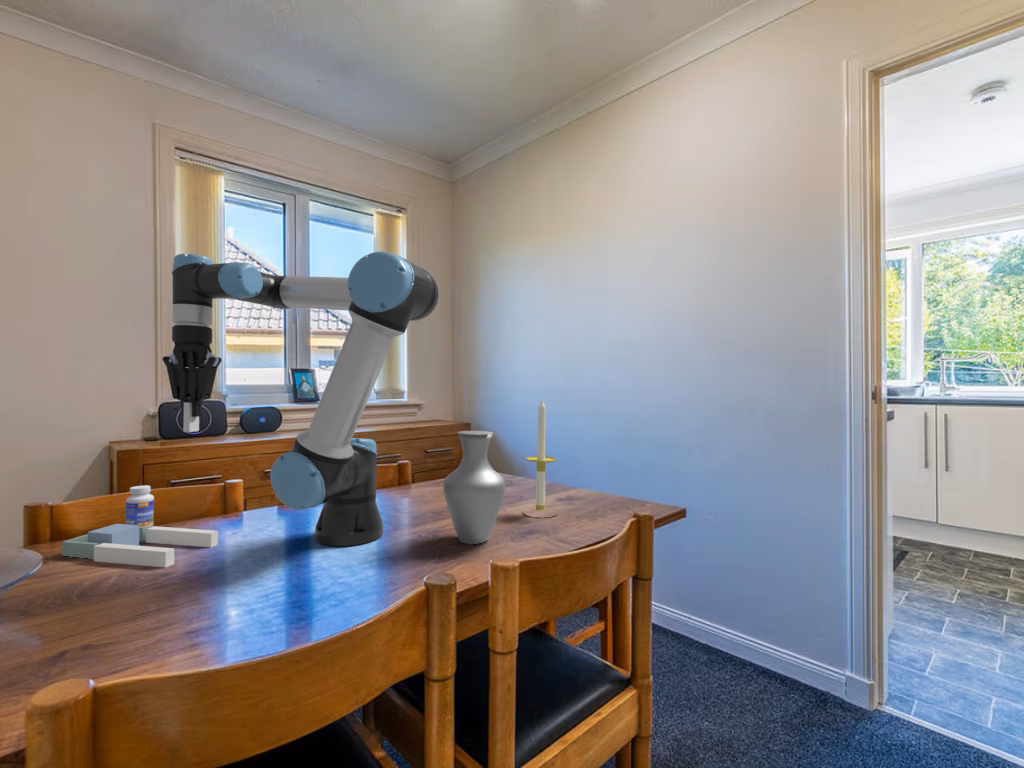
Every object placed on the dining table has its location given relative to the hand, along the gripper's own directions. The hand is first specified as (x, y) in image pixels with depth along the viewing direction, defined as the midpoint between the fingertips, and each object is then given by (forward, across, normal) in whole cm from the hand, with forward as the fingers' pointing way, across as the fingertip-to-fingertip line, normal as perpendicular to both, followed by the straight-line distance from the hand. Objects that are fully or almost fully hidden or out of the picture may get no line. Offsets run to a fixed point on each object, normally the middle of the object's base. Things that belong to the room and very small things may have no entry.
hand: (191, 431), depth 110 cm
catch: (+24, +12, +8) cm, 29 cm away
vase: (+25, -62, -13) cm, 68 cm away
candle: (+25, -75, -39) cm, 88 cm away
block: (+25, +11, +8) cm, 28 cm away
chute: (+24, 0, +8) cm, 26 cm away
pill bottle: (+25, +19, -6) cm, 32 cm away
